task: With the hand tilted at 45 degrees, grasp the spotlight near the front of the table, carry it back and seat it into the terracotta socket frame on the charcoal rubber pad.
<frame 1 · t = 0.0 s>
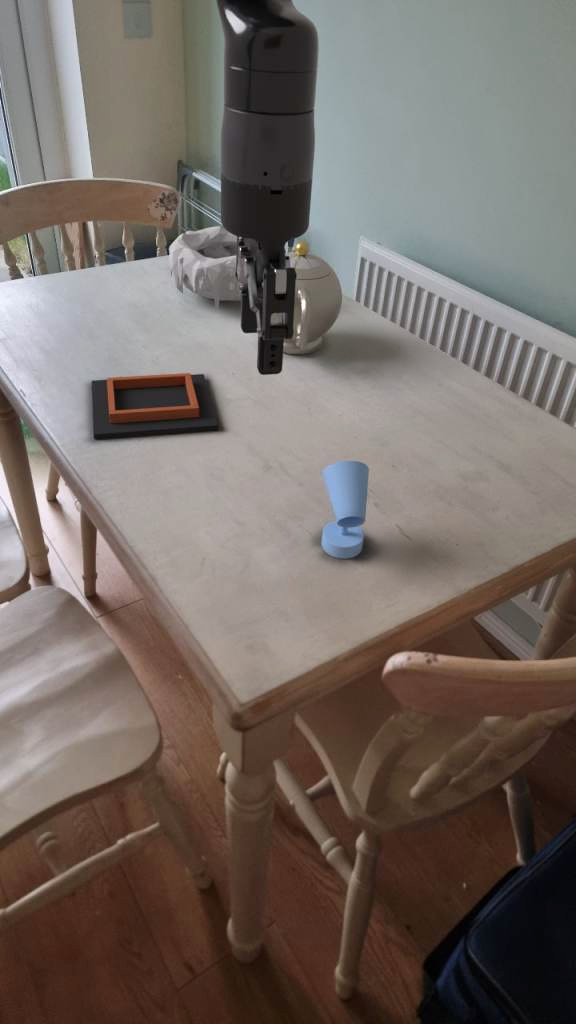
hand: (260, 351, 67), 20 cm above the table, tool pointing down, fingers open, 8 cm apart
bowl: (225, 296, 126), on the table
pad: (152, 406, 96), on the table
teapot: (295, 349, 112), on the table
spotlight: (340, 543, 77), on the table
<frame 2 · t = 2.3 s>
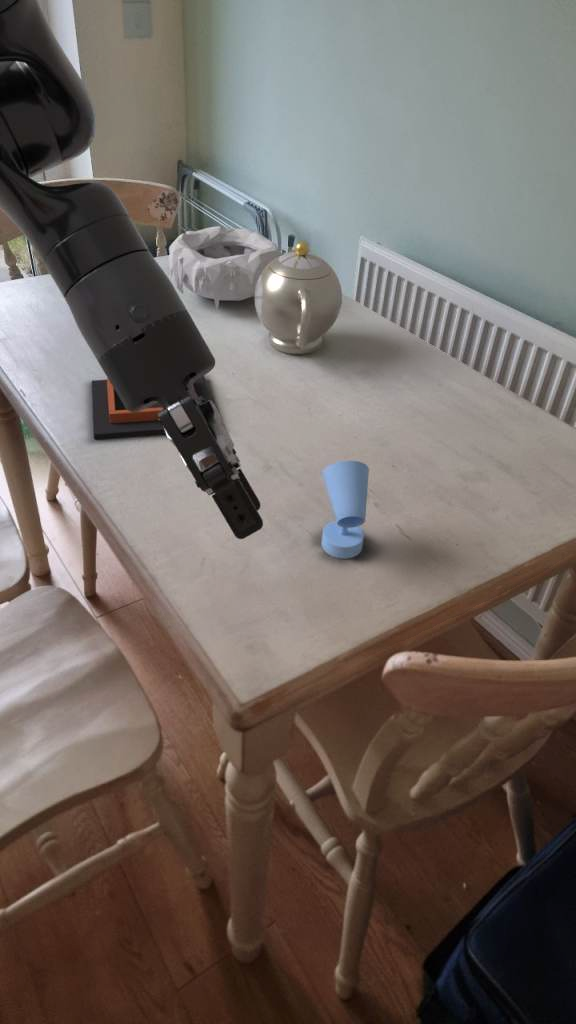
hand: (251, 522, 53), 16 cm above the table, tool tilted 45°, fingers open, 8 cm apart
nothing on the table moved.
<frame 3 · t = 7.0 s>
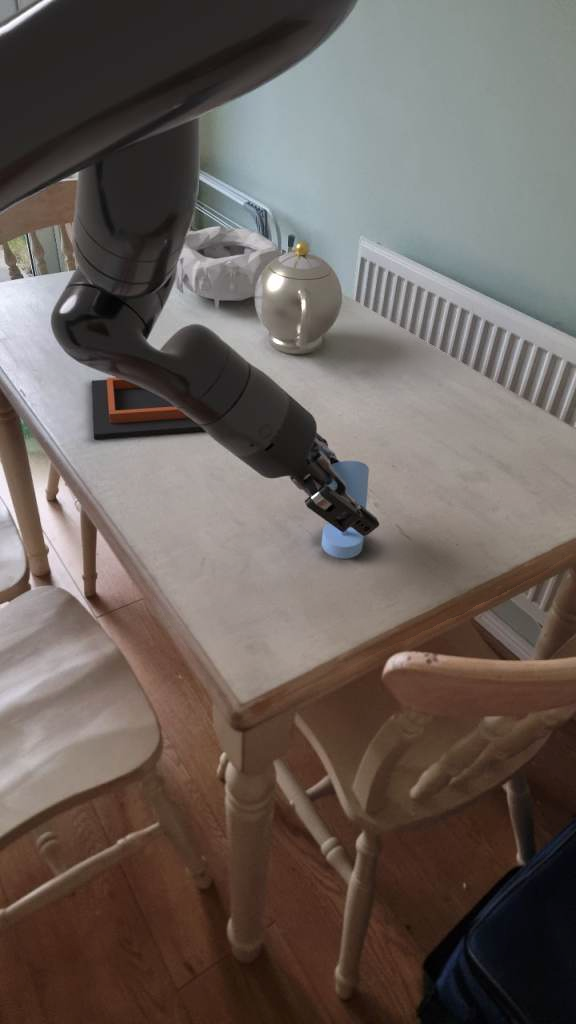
hand: (360, 505, 74), 5 cm above the table, tool tilted 45°, fingers closed on spotlight, 7 cm apart
spotlight: (341, 543, 77), on the table, touching gripper
everything else where it was.
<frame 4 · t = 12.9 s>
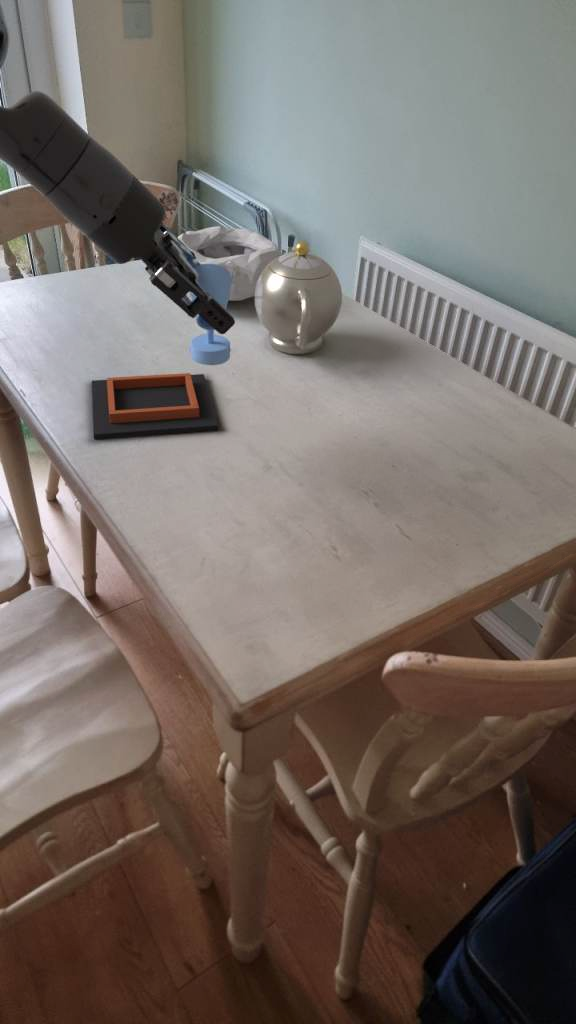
hand: (223, 312, 77), 18 cm above the table, tool tilted 45°, fingers closed on spotlight, 7 cm apart
spotlight: (210, 355, 80), point 13 cm above the table, touching gripper
everything else where it was.
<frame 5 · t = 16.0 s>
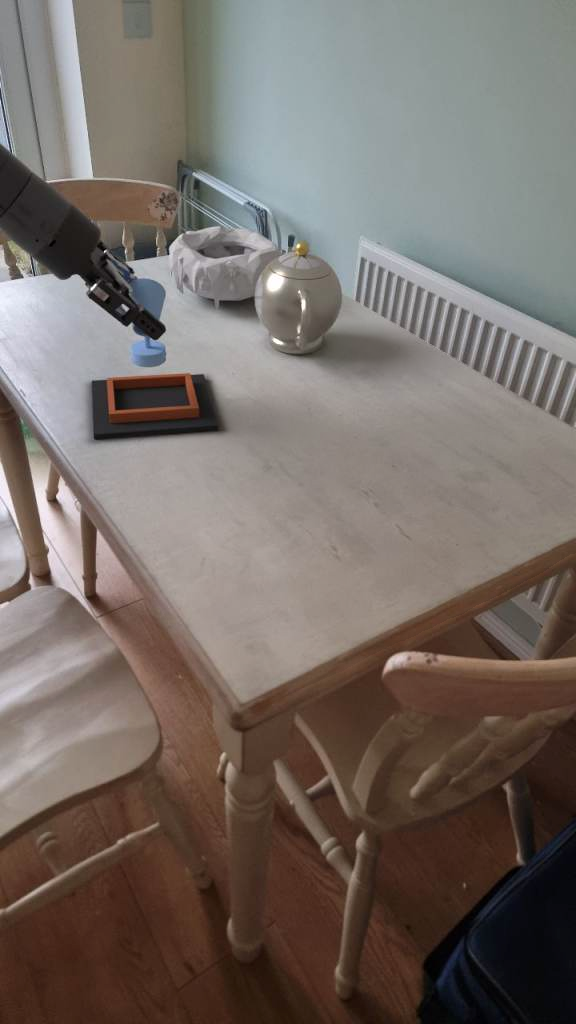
hand: (158, 321, 88), 13 cm above the table, tool tilted 45°, fingers closed on spotlight, 7 cm apart
spotlight: (148, 358, 91), point 7 cm above the table, touching gripper
everything else where it was.
when the fingers open (6 cm above the table, at t = 18.6 s): spotlight stays where it is, resting on pad.
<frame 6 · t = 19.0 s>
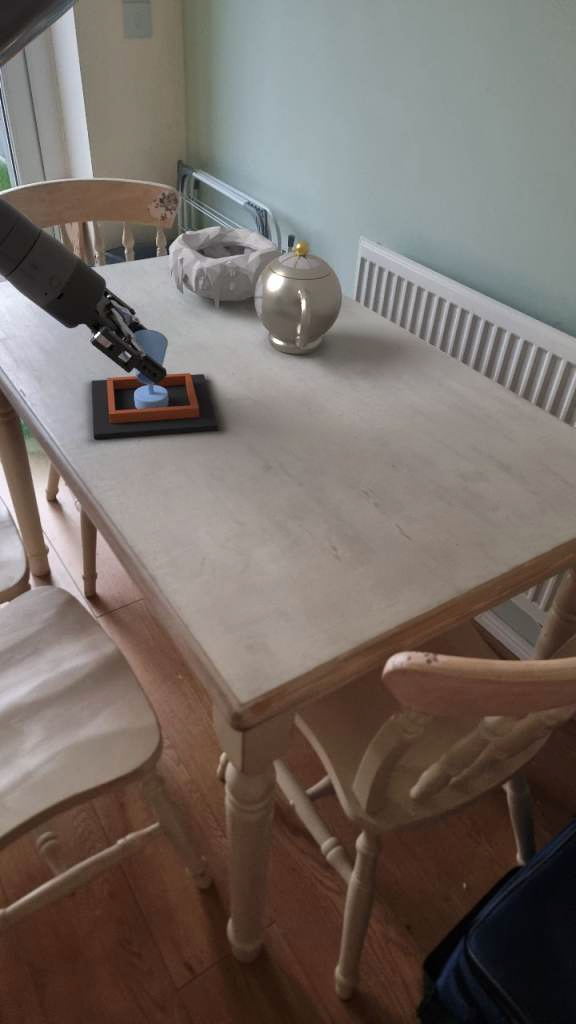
hand: (159, 362, 92), 7 cm above the table, tool tilted 45°, fingers open, 8 cm apart
spotlight: (152, 403, 95), point 1 cm above the table, touching pad
everything else where it was.
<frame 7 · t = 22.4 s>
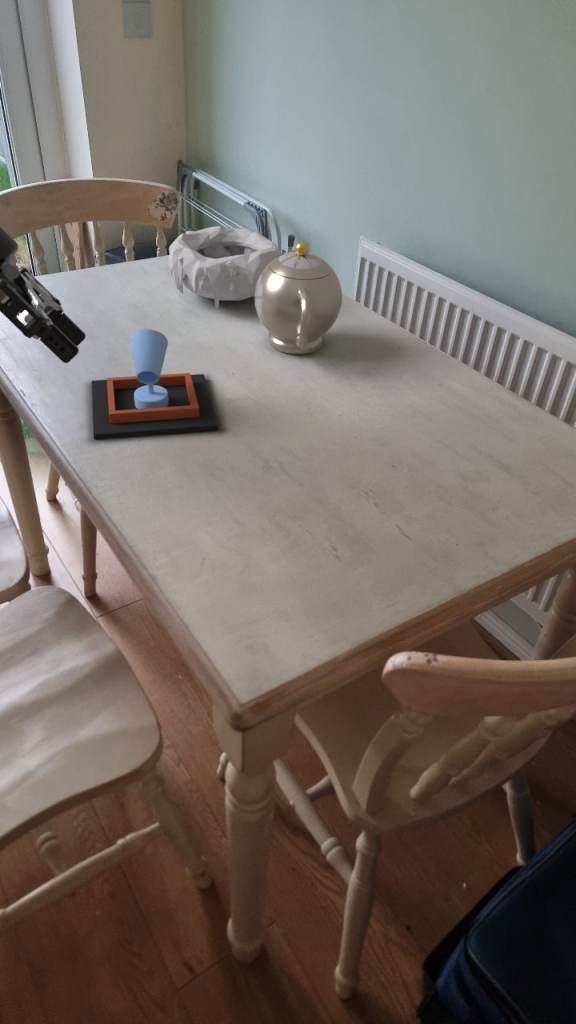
hand: (77, 349, 80), 13 cm above the table, tool tilted 45°, fingers open, 8 cm apart
nothing on the table moved.
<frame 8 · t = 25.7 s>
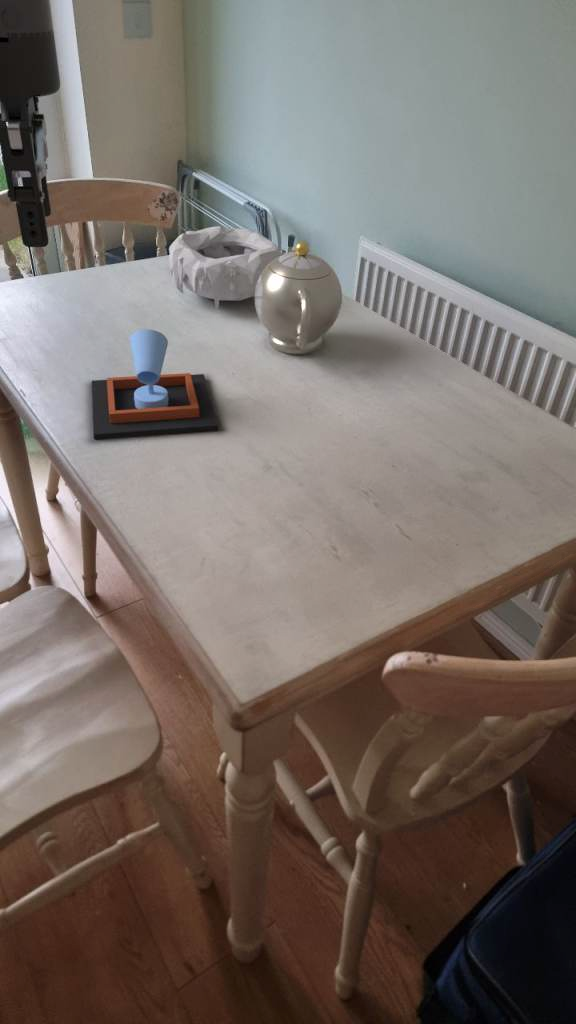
hand: (38, 230, 66), 28 cm above the table, tool pointing down, fingers open, 8 cm apart
nothing on the table moved.
at the end: spotlight 0.1 cm off-centre on the pad, point 0.6 cm above the pad's base; spotlight tilted 0°; the gripper is holding nothing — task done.
